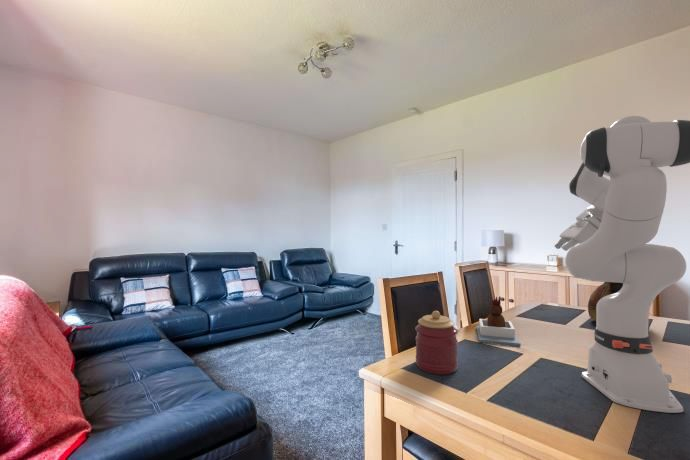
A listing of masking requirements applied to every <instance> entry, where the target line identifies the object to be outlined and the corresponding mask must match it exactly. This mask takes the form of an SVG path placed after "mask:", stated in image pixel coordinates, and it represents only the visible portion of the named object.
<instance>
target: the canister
mask: <svg viewBox="0 0 690 460" xmlns="http://www.w3.org/2000/svg"><path fill="white" fill-rule="evenodd" d="M417 323H418V324H417V325H416V326H415V331H416V336H415V351H416V352H415V362H416V363H415V364H416V366H417V368H419V370H422V372H426V373H429V374H433V375H449V374H453V373H454V372H456V371H457V370H458V366H459V363H458V362H459V360H458V343H459V342H458V339H457V334H458V333H459V332H458V329H457V328H456V327H455V324H456V323H455V321H453V320H452V319H450V317H448V316H445V315H441V313H440V312H439V311H438V310H433V311H432V312H431V314H426V315H423V316H422V317H421V318H419V319H418V320H417Z"/></svg>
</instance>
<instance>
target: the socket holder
mask: <svg viewBox="0 0 690 460" xmlns="http://www.w3.org/2000/svg"><path fill="white" fill-rule="evenodd" d="M487 319H488V318H485V319H484V318H479V321H478V322H479V323H478V325H476V333H477V337H478V338H477V339H478V343H479V342H483V343H482V344H487V343H493V344H492V345H497V344H500V345H501V346H507V345H509V346H510V347H517V348H518V347H520V348H521V341H520V340H519V338H518V336H517V334H516V331H515V330H516V329H515V326H514V325H513V323H512V321H511V320H505V328H504V327H491V326H488V323H487ZM500 345H499V346H500Z"/></svg>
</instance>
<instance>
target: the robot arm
mask: <svg viewBox="0 0 690 460" xmlns="http://www.w3.org/2000/svg"><path fill="white" fill-rule="evenodd" d="M579 156H580V158H581V161H582V162H581V164H580V166H579V168H578V170H577V172H576V173H575V176H574V177H573V178H572V179H571V180H570V182H569V185H568V186H569V187H568V188H569V191H570V194H572V195H574V196H575V197H578V198H580V199H582V200H583V201H584V202H586V203H588V204H589V205H590V206H588V207H586V209H584V210H583V211H582V212H581V213H580V214H579V215H577V216H576V217H575V218H576V222H575V223H573V224H571V225H570V226H568V227H567V228H566V229H565V230H564V231H562V232H561V233H560V234H559V237H560V239H559V240H558V241H557V243H556V244H554V248H556V249H557V250H560V249H562V250H563V251H565V252H566V256H565V261H564V262H565V267H566V269H567V271H568V273H569V274H570V275H571V276H573V278H576V279H579V280H580V279H581V280H586V281H591V282H599V283H601V282H603V283H604V282H616V283H623V287H622V288H621V290H619V291H618V292H616V293H614V294H610V295H607V296H605V297H603V298H601V299H600V300H599V301H598V303H597V305H596V320H595V321H596V323H595V324H596V327H594V332H593V335H594V341H595V342H594V343H593V345H592V346H591V347H590V348H588V355H587V356H588V357H587V368H586V369H587V370H585V371H582V372H581V377H582V378H583V379H584V380H585V381H586V382H588V383H589V384H590V385H591V386H593V387H594V388H596V389H597V390H598V391H599V392H601V393H602V394H603V395H604V396H605V397H607V398H608V399H610V401H612V402H614V403H616V404H620V405H622V406H627V407H630V408H633V409H634V408H635V409H640V410H644V411H651V412H660V413H672V414H673V413H674V414H675V413H683V412H684V407H683V405H682V404H681V403H680V401H679V400H678V398H677V397H676V396H675V395H674V394H673V393H672V392H671V390H670V388H669V387H670V385H669V384H672V382H673V378H672V377H673V376H672V375H671V374H670V373H668V372H666V373H665V372H664V371H663V369H662V366H663V365H662V363H659V362H658V361H657V360H656V357H655V356H654V354H653V351H654V350H653V349H654V348H653V346H652V345H653V342H652V339H651V337H650V335H649V317H650V310H651V307H652V304H653V302H654V301H655V299H656V298H657V296H658V295H659V294H660V293H661V292H662V291H663V290H665V289H666V288H667V287H669V286H672V285H674V284H676V283H677V282H679V281H680V280H681V279H682V278H683V277H684V276H685V274H686V271H687V262H686V259H685V257H684V255H683V254H682V253H681V251H679V250H678V249H676V248H675V247H672V246H667V245H658V244H653V243H649V242H651V241H652V240H653V239H654V238H655V237H656V235H657V234H658V232H659V228H660V224H661V222H662V217H663V213H664V210H665V205H666V200H667V191H668V189H667V176H666V174H665V172H664V171H663V170H661V169H660V168H663V167H664V168H665V167H670V168H673V167H679V166H683V165H688V164H690V120H687V119H685V120H684V119H675V120H673V121H651V120H650V119H648V118H646V117H644V116H639V115H629V116H625V117H622V118H619V119H618V120H616V121H615V122H614V123H612V124H611V125H610V127H604V126H603V127H598V128H596V129H593V130H590V131H589V132H587V133H586V134H585V136H584V138H583V141H582V143H581V145H580V149H579ZM604 175H605V176H608V177H609V178H610V179H609V178H607V177H605V176H604Z"/></svg>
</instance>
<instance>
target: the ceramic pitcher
mask: <svg viewBox="0 0 690 460" xmlns="http://www.w3.org/2000/svg"><path fill="white" fill-rule="evenodd" d="M622 287H623V283H616V282H603V283H602V284H600V285H599V286H597V287H596V288H595V289H594V290H593V292H592V293H591V295H590V297H589V300H588V303H587V313H588V316H589V317H590V318H591V319H593V320H595V321H596V305H597V303H598V301H599V300H600V299H601V298H603V297H605V296H607V295H610V294H614V293H616V292H618V291H619V290H621V288H622Z"/></svg>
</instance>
